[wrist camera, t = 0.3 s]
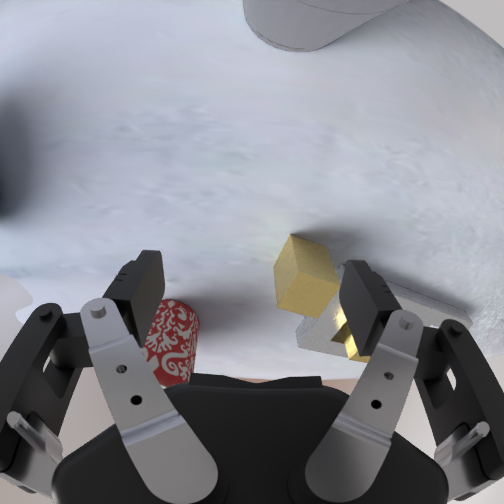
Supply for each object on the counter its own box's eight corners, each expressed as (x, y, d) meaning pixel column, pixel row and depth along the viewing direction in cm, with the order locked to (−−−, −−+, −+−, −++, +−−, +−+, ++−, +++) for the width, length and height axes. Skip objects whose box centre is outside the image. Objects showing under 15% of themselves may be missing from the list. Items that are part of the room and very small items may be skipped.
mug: (139, 287, 35) (102, 370, 23) (207, 299, 36) (191, 390, 24) (147, 348, 41) (124, 421, 30) (202, 358, 42) (191, 435, 31)
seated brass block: (355, 296, 35) (370, 335, 29) (380, 304, 36) (397, 341, 30) (337, 320, 38) (349, 359, 32) (362, 326, 38) (375, 364, 32)
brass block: (290, 233, 31) (298, 271, 25) (326, 247, 32) (341, 285, 26) (273, 266, 33) (277, 307, 27) (308, 277, 34) (317, 318, 28)
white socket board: (295, 330, 38) (297, 347, 36) (340, 263, 33) (347, 278, 30) (424, 357, 44) (429, 369, 41) (465, 311, 38) (473, 323, 35)
